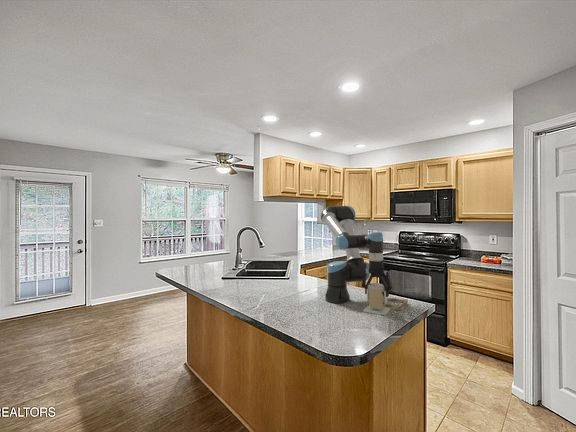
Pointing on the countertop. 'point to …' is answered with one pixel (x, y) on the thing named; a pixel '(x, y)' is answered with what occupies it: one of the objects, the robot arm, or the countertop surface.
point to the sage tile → (377, 310)
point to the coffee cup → (376, 295)
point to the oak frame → (396, 305)
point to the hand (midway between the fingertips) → (376, 301)
